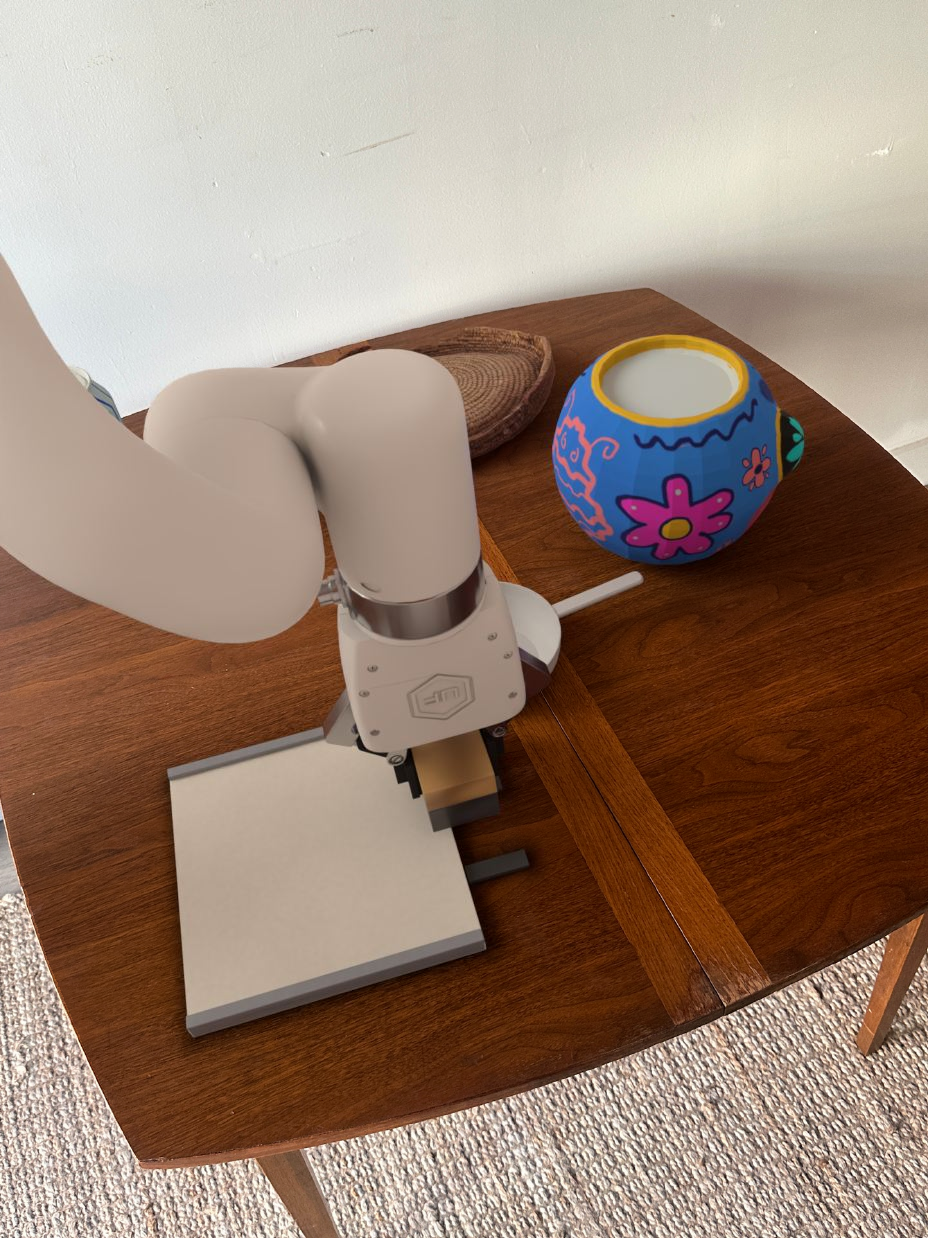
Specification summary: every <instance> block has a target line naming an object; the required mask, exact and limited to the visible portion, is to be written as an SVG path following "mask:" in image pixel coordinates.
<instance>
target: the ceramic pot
mask: <svg viewBox="0 0 928 1238" xmlns="http://www.w3.org/2000/svg"><path fill="white" fill-rule="evenodd" d="M805 441H806V440H805V436H804V431H803V427H802V426H801V424H800V422H799V421H798V419H796V418H795V417H794V416H793V415H791V414H790V413H788V412H786V411H784V410H782V408H780V407H779V406H778V404H777V401H776V400H775V398H774V395H773V393H772V391H771V389H770V387H769V385H768V384H767V382H766V381H765V379H764V378H763V376H762V375H761V373H760V371H758V370H757V368H756V367H755V366H754V365H753V364H752V363H751V362H749V361H748V360H747V359H746V358H745V357H744V356H742V355H740V354H739V353H738V352H736V351H735V350H734V349H732V348H730V347H728V346H726V345H723V344H721V343H719V342H717V341H714V340H711V339H708V338H703V337H699V336H694V335H689V334H658V335H657V334H656V335H652V336H651V335H650V336H644V337H643V336H642V337H639V338H635V339H632V340H629V341H626V342H623V343H621V344H619V345H617V346H615V347H613V348H612V349H610V350H608V351H606V352H605V353H603V354H601V355H600V356H598V357H596V359H595V360H594V361H593V362H592V363H591V364H590V365H588V367H587V368H585V370H584V371H583V372H581V374H580V375H579V376H578V377H577V379H576V380H575V381H574V383H573V384H572V386H571V387H570V389H569V391H568V393H567V396H566V398H565V400H564V403H563V406H562V408H561V412H560V414H559V417H558V420H557V422H556V427H555V431H554V435H553V441H552V449H551V457H552V464H553V471H554V477H555V482H556V485H557V489H558V492H559V495H560V497H561V500H562V502H563V503H564V505H565V507H566V509H567V511H568V512H569V514H570V516H571V517H572V518H573V520H574V521H575V523H577V525H578V526H579V527H580V528H581V530H582V531H583V532H584V533H585V534H586V535H587V537H589V538H590V539H591V540H592V541H594V542H595V543H596V544H598V546H600V547H601V548H602V549H604V550H606V551H608V552H611V553H613V554H615V555H617V556H620V557H622V558H624V559H627V560H629V561H633V562H639V563H644V564H649V565H654V566H666V565H668V566H669V565H683V564H686V563H691V562H695V561H699V560H703V559H708V558H709V557H711V556H713V555H714V554H716V553H718V552H719V551H722V550H723V549H724V548H727V547H728V546H730V545H732V544H734V543H735V542H736V541H738V540H739V539H740V538H741V537H742V536H743V535H745V533H746V532H747V531H748V530H749V529H750V528H751V527H752V526H753V525H754V523H755V522H756V520H757V519H758V518H759V517H760V515H762V513H763V511H764V510H765V509H766V508H767V506H768V505H769V503H770V501H771V499H772V497H773V495H774V492H775V491H776V488H777V487H778V485H779V484H780V482H781V481H782V480H783V479H784V478H785V477H787V476H789V474H790V473H792V472H793V470H795V468H796V467H797V466H798V464H799V463H800V462H801V459H802V457H803V454H804V449H805V443H806V442H805Z"/></svg>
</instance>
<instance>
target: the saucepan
mask: <svg viewBox="0 0 928 1238" xmlns="http://www.w3.org/2000/svg"><path fill="white" fill-rule="evenodd" d="M499 583H500V586H501V588H502V590H503V592H504V595H505V598H506V601H507V604H508V607H509V610H510V613H511V617H512V621H513V625H514V630H515V634H516V639H517V644H518V647H520V648H522V649H523V650H525V651H527V652H528V653H530V654H531V655H533V656H535V657H536V658H538V659H540V660H541V661H543V662H545V663H546V665H547V667H548V670H549V672H550V674H552V672H553V671H554V669H555V667H556V665H557V663H558V659H559V655H560V651H561V650H560V649H561V646H562V645H561V642H562V641H561V640H562V627H561V623H560V618H561V619H562V618H563V617H565V616H568V615H570V614H573V613H575V612H579V611H580V610H583V609H584V608H587V607H589V606H592V605H594V604H597V603H599V602H601V601H604V600H606V599H608V598H611V597H615V596H616V595H619V594H620V593H623V592H626V591H628V590H630V589H633V588H635V587H637V586H640V585H642V584H643V583H644V576H643V575H642V573H641V572H639V571H635V570H634V571H631V572H629V573H628V572H627V573H625V574H623V575H620V576H619V577H617V578H613V579H611V580H608V581H606V582H604V583H601V584H600V585H597V586H595V587H592V588H590V589H587V590H585V591H582V592H580V593H577V594H575V595H573V596H571V597H568V598H565V599H563V600H561V601H558V602H556V603H554V604H550V602H549V601H548V600H547V599H546V598H544V597H543V596H542V595H541V594H539V593H537V592H536V591H534V590H533V589H531V588H528V587H525V586H523V585H520V584H516V583H513V582H507V581H499Z"/></svg>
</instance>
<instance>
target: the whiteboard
mask: <svg viewBox="0 0 928 1238" xmlns="http://www.w3.org/2000/svg"><path fill="white" fill-rule="evenodd" d="M167 778H168V780H169V789H170V802H171V814H172V815H171V816H172V829H173V843H174V857H175V868H176V870H175V871H176V881H177V882H176V883H177V895H178V907H179V908H178V909H179V922H180V923H179V925H180V935H181V948H182V949H181V951H182V961H183V962H182V963H183V975H184V976H183V977H184V978H183V979H184V990H185V1002H186V1003H185V1005H186V1016H185V1027H186V1031H188V1033H189V1034H190V1035H191V1036H192V1037H193V1038H198V1037H200V1036H204V1035H206V1034H210V1033H213V1032H216V1031H219V1030H224V1029H227V1028H230V1027H233V1026H237V1025H240V1024H243V1023H247V1022H250V1021H254V1020H256V1019H260V1018H263V1017H266V1016H270V1015H273V1014H276V1013H280V1012H283V1011H286V1010H287V1011H288V1010H290V1009H294V1008H296V1007H300V1006H304V1005H307V1004H310V1003H313V1002H317V1001H319V1000H324V999H326V998H330V997H333V996H336V995H339V994H343V993H347V992H350V991H352V990H356V989H359V988H363V987H367V986H369V985H374V984H377V983H380V982H383V981H387V980H390V979H393V978H397V977H400V976H403V975H406V974H407V975H408V974H409V973H413V972H416V971H420V970H423V969H426V968H430V967H434V966H437V965H440V964H443V963H446V962H449V961H453V960H456V959H459V958H463V957H465V956H470V955H473V954H476V953H479V952H482V951H486V950H487V945H486V940H485V937H484V933H483V930H482V927H481V924H480V921H479V917H478V914H477V910H476V907H475V904H474V903H475V902H474V900H473V897H472V893H471V890H470V886H469V882H468V878H467V875H466V872H465V868H464V867H463V866H464V865H463V863H462V860H461V856H460V853H459V848H458V846H457V842H456V839H455V835H454V833H453V829H452V827H451V828H448V829H444V830H441V831H437V832H433V829H432V826H431V822H430V819H429V815H428V812H427V808H426V805H425V801H424V797H423V795H420V798H416V799H413V797H412V794H411V790H410V786H409V783H408V782H405V783H401V784H398V783H397V779H396V775H395V771H394V768H393V766H391V765H389V764H388V763H387V760H386V758H385V757H381V756H378V755H374V754H370V753H367V752H363V751H360V750H359V749H358V747H357V746H352V747H347V746H341V745H334V744H329V743H327V742H326V741H325V736H324V732H323V727H322V726H319V727H316V728H313V729H309V730H305V731H301V732H297V733H294V734H290V735H287V736H283V737H280V738H275V739H273V740H268V741H265V742H261V743H257V744H254V745H250V746H247V747H243V748H239V749H236V750H231V751H228V752H224V753H221V754H218V755H214V756H210V757H206V758H203V759H199V760H196V761H192V762H188V763H184V764H181V765H177V766H174V767H170V768H167Z"/></svg>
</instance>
